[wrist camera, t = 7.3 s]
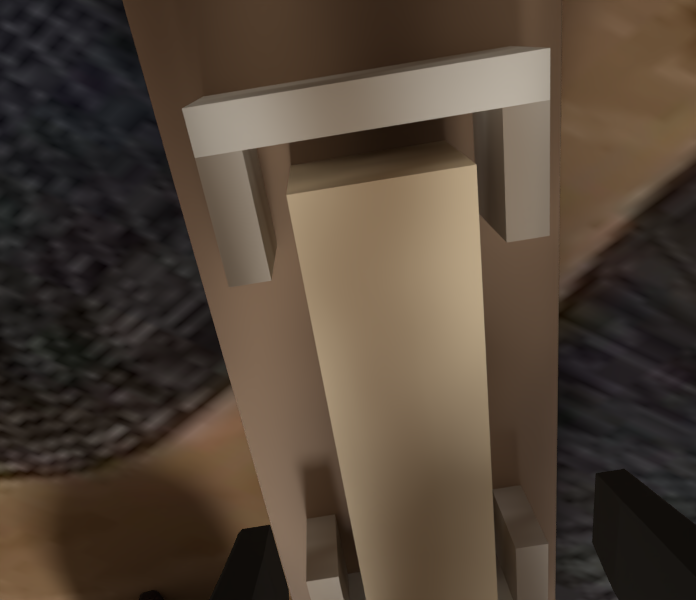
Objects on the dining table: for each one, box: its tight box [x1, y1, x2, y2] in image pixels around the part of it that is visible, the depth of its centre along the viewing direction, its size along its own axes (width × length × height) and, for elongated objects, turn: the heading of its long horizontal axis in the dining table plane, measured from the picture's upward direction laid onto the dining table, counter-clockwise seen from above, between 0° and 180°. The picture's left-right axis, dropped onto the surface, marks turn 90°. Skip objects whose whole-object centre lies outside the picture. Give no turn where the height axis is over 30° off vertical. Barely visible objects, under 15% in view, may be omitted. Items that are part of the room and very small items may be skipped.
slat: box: [286, 141, 498, 600], centre depth 16 cm, size 4×14×3 cm, turn 8°
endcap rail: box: [122, 0, 562, 600], centre depth 17 cm, size 10×24×4 cm, turn 9°
